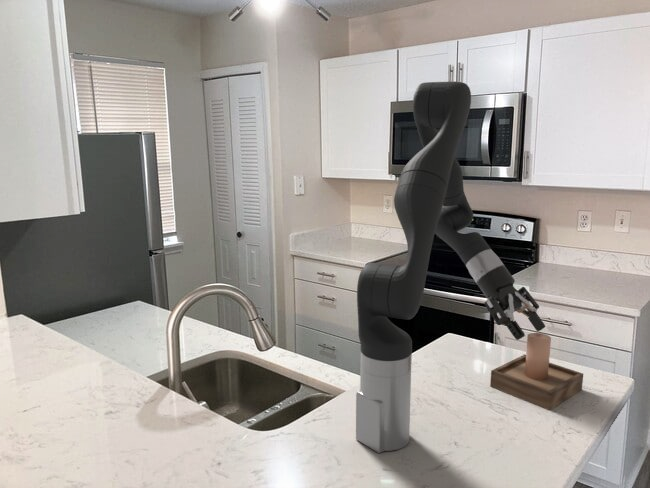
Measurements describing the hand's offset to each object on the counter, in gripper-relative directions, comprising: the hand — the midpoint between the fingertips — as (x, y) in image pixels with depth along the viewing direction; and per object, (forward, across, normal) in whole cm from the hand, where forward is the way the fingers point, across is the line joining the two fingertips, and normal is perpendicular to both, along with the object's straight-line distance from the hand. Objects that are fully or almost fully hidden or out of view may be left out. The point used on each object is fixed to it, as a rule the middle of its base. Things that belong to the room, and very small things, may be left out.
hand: (531, 333), depth 118 cm
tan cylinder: (+8, 0, +5) cm, 9 cm away
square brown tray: (+10, 0, +7) cm, 12 cm away
